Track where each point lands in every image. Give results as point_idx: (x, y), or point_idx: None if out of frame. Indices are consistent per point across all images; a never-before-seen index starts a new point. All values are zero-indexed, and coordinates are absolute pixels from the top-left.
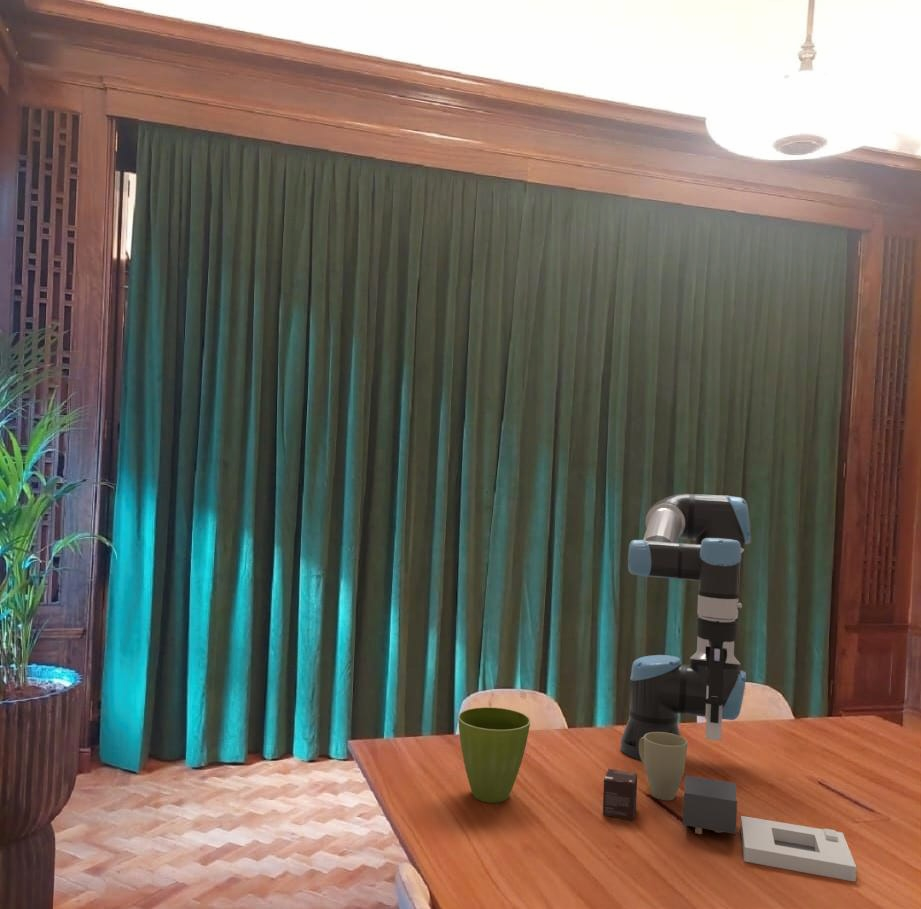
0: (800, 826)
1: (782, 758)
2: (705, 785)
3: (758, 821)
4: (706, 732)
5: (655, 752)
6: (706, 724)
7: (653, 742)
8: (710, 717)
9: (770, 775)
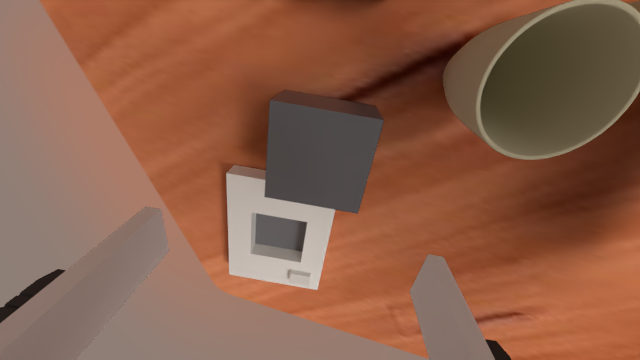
0: (322, 255)
1: (626, 302)
2: (329, 155)
3: (324, 211)
4: (125, 223)
5: (488, 44)
6: (97, 246)
7: (607, 50)
8: (24, 290)
9: (553, 269)
